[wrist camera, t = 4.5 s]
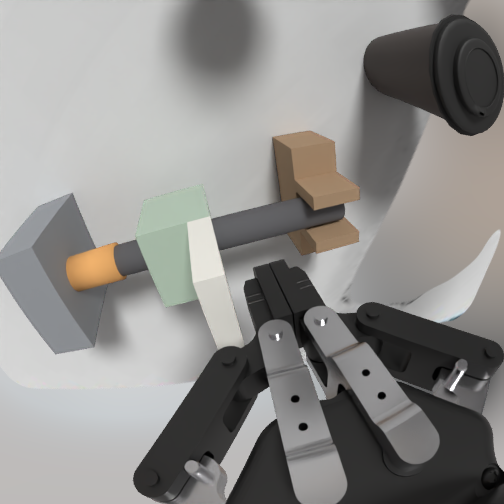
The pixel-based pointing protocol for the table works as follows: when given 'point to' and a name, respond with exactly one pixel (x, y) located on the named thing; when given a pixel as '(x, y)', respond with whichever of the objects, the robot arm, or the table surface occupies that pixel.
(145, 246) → the white-faced green block
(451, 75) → the coffee cup
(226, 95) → the table surface
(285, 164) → the rod rig
